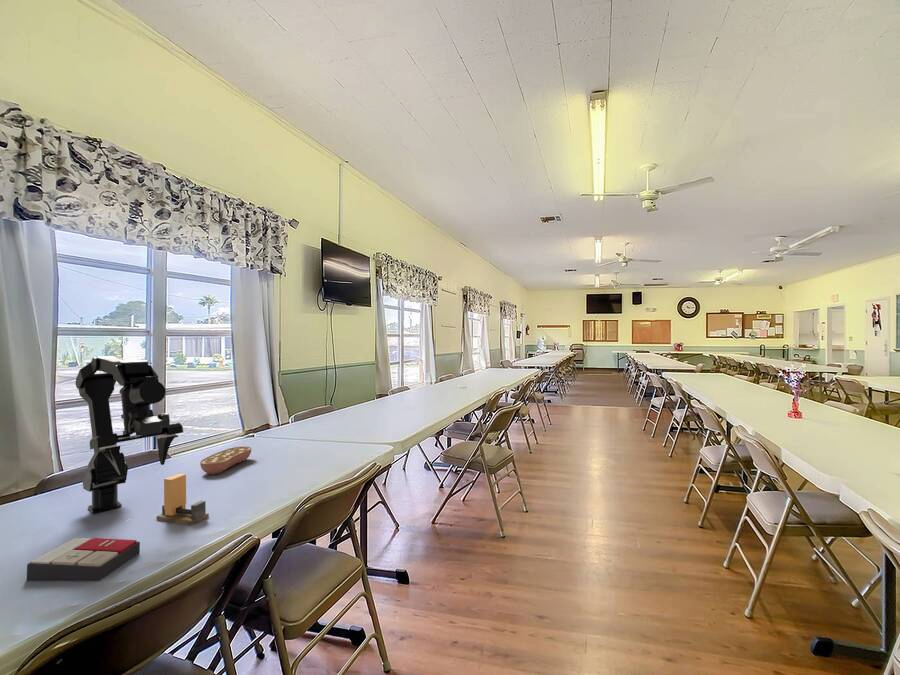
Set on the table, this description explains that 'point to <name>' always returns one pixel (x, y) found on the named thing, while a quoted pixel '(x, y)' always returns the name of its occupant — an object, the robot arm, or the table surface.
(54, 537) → the table surface
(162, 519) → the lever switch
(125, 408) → the robot arm
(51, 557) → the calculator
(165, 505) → the orange slab
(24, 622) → the table surface
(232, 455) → the brown oval piece
